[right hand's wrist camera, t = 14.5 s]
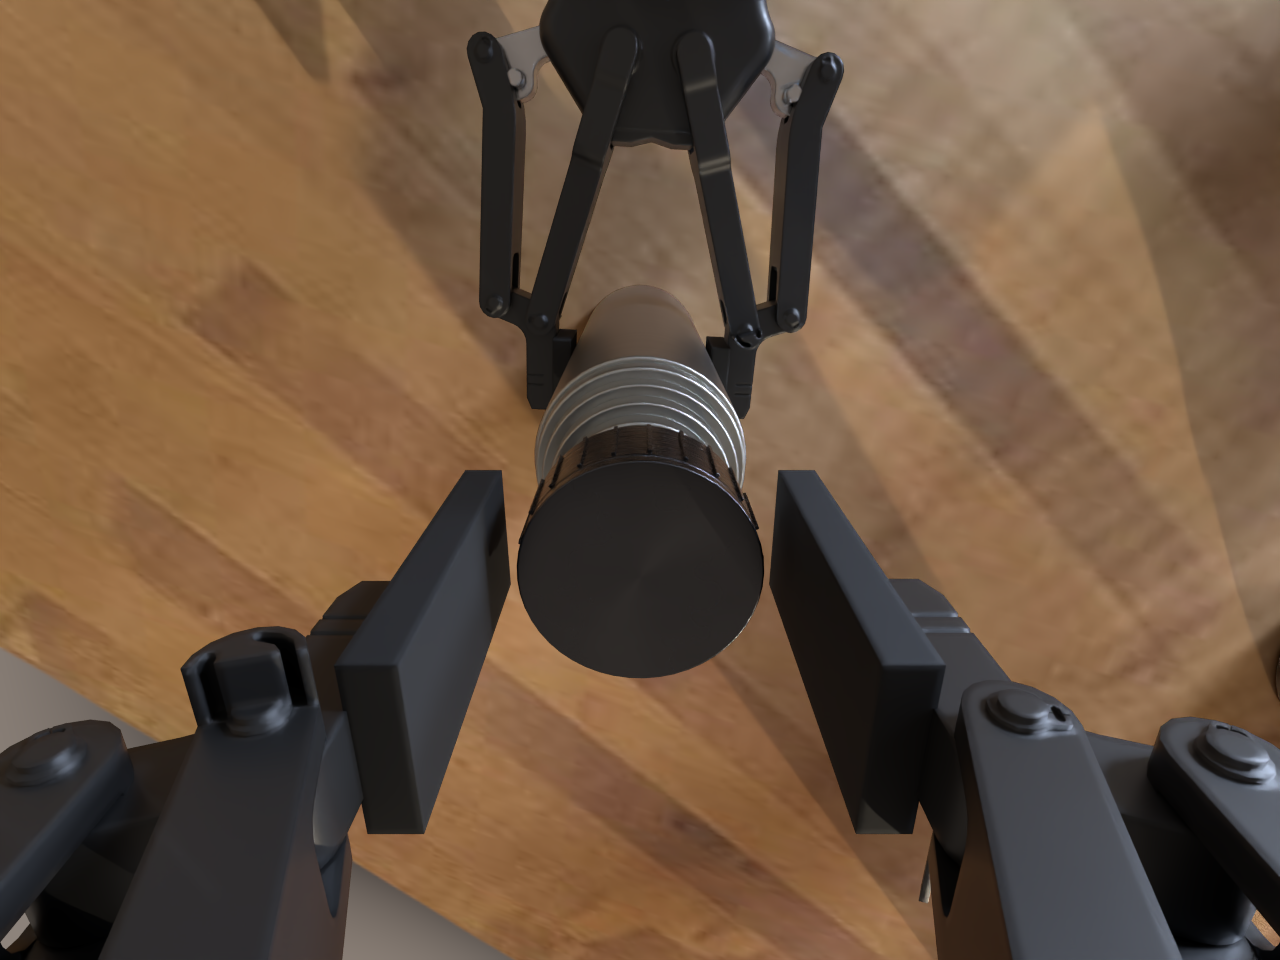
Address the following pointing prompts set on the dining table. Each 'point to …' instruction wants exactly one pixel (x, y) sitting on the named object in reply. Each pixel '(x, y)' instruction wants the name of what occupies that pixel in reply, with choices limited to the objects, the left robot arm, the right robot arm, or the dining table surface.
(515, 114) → the left robot arm
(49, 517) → the dining table surface
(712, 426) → the bottle
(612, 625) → the cap
